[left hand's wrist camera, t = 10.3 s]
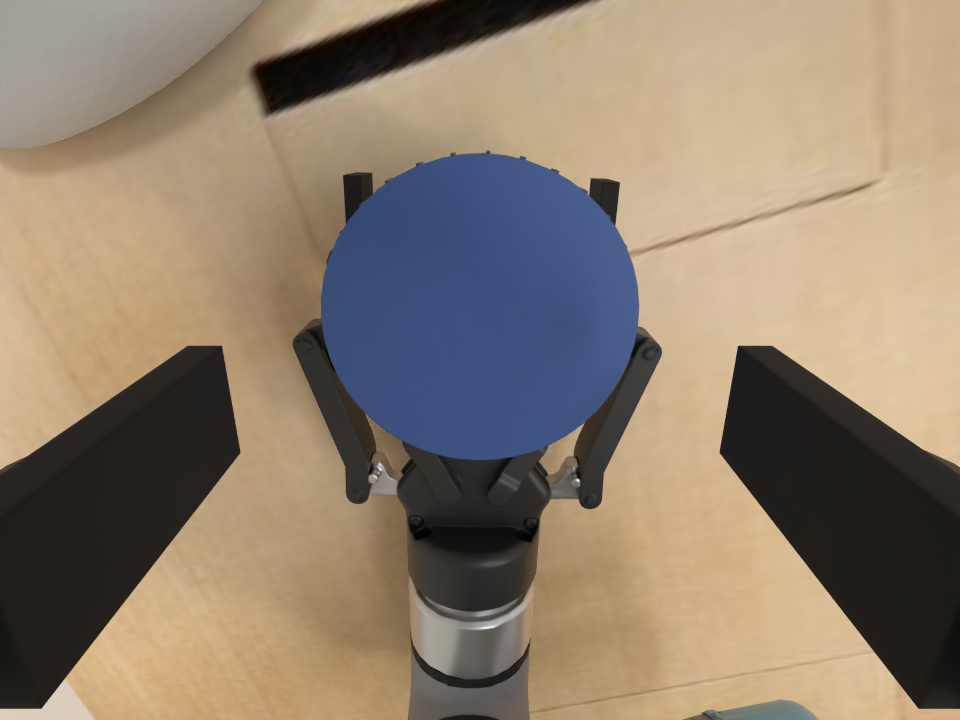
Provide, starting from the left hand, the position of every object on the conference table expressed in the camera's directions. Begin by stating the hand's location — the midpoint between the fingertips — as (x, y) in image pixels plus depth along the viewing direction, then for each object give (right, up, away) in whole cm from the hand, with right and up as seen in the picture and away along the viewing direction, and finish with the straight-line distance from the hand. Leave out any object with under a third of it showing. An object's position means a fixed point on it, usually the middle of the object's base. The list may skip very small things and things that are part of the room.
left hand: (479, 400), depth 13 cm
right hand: (0, +9, +12) cm, 15 cm away
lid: (0, +2, +6) cm, 6 cm away
